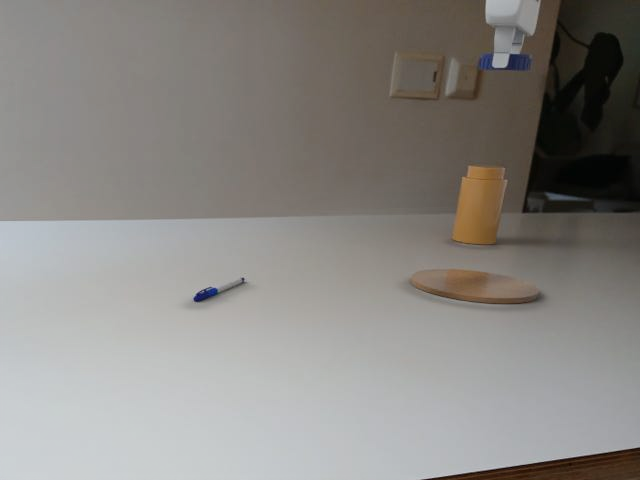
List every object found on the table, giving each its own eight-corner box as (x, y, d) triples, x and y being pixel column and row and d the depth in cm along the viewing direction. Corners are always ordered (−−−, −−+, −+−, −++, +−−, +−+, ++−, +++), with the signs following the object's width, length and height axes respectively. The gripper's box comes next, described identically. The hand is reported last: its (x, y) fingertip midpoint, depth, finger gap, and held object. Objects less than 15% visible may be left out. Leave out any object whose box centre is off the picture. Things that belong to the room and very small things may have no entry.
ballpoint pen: (199, 304, 71) (200, 294, 71) (191, 302, 72) (192, 292, 72) (245, 283, 80) (246, 274, 80) (237, 281, 80) (238, 272, 80)
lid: (470, 69, 96) (473, 53, 96) (486, 70, 101) (489, 55, 100) (520, 70, 93) (524, 53, 92) (535, 71, 97) (538, 55, 96)
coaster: (552, 288, 82) (553, 283, 82) (517, 311, 72) (518, 305, 72) (436, 268, 90) (437, 263, 89) (391, 286, 80) (392, 281, 80)
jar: (500, 241, 109) (515, 167, 105) (487, 246, 105) (502, 169, 101) (460, 235, 113) (472, 163, 109) (445, 240, 108) (457, 165, 105)
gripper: (509, -36, 102) (490, 72, 106) (486, -64, 85) (464, 65, 90) (560, -38, 99) (538, 73, 103) (546, -68, 82) (521, 66, 87)
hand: (503, 69), depth 96 cm, fingers closed on lid, 6 cm apart
